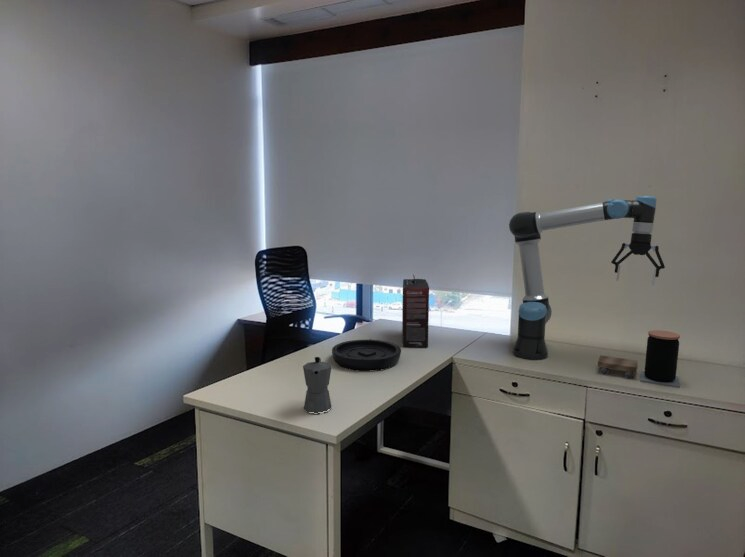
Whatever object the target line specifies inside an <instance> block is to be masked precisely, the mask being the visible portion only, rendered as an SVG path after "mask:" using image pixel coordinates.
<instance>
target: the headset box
mask: <svg viewBox="0 0 745 557" xmlns="http://www.w3.org/2000/svg"><path fill="white" fill-rule="evenodd" d="M412 276H413V278H410V279H408V278H407V279H406V278H403V282H402V309H401V310H402V314H401V315H402V320H401V321H402V322H401V323H402V329H401V330H402V332H401V333H402V346H403V348H428V347H429V322H430V321H429V320H430V319H429V318H430V317H429V314H430V313H429V312H430V308H429V307H430V286H429V283H428V281H427V279H425V278H424V279H423V278H416V277H415V275H414V274H413V275H412Z"/></svg>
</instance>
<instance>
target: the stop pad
mask: <svg viewBox="0 0 745 557" xmlns="http://www.w3.org/2000/svg"><path fill="white" fill-rule="evenodd" d="M644 371H645V370H641V371H640V376H639V377H640V379H639V380H640V382H641V381H642V383H647V382H648V384H653V383H654V384H655V385H659V384H660V386H666V387H674V388H678V389H680V379H679V376H677V375H676V378H675V379H674V381H672V382H658V381H653V380H650V379H648V378H647V377H646V375H645V373H644Z"/></svg>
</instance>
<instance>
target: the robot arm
mask: <svg viewBox="0 0 745 557" xmlns="http://www.w3.org/2000/svg"><path fill="white" fill-rule="evenodd" d="M656 209H657V198H656V196H652V195H651V196H650V195H638V196H636V198H635V200H633V199H632V200H631V199H630V200H628V199H620V198H618V199H613V198H612V199H605V201H604V202H598V203H592V204H586V205H580V206H575V207H574V206H573V207H569V208H565V209H564V208H563V209H557V210H552V211H547V212H538V211H535V212H533V211H532V212H530V211H523V212H518V213H516V214H514V215H513V216H512V217H511V218H510V220H509V224H508V227H509V232H510V233H511V235H513V236H514V242H515V244H516V245H518V248H519V255H520V263H521V271H522V278H523V279H522V280H523V287H524V294H525V295H524V297H523V298H522V303H520V305H519V307H518V322H517V323H518V324H517V338H516V340H515V343H514V345H513V347H512V354H513V355H514V356H515V357H518V358H521V359H525V360H526V359H527V360H534V361H535V360H536V361H537V360H544V359H547V358H548V355H549V351H548V348H547V345H546V344H547V343H546V338H545V337H546V335H545V334H546V324H547V323H548V322H549V321H550V320H551V317H552V313H553V312H552V307H551V305H550V302H549V296H548V295H547V294H546V293H545V289H544V280H543V274H542V271H543V270H542V266H541V258H540V257H541V256H540V248H539V242H540V241H541V239H542V235H541V233H542V232H544V231H549V230H555V229H560V228H561V229H562V228H567V227H573V226H580V225H585V224H591V223H597V222H603V221H611V220H618V219H633V222H632V229H631V231H632V233H631V237H630V242H629V243H625V242H623V243H622V244H621V247H620V249H619V250H618V252H617V253H616V255H615V256H614V257H613V258H612V260H611V261H610V262H611V264H613V265H614V266H615V267H614V273H615V274H616V280H615V281H617V282H619V280H620V273H621V265H620V264H621V263H623V261H625V260H626V259H627V258H629V257H630V256H631V255H635V256H639V255H640V256H646V257H647V258H648V260H649V261H650V263H652V265H653V266H654V267H655V268H653V274H652V275H653V276H652V281H651V285H653V286H655V283H656V282H655V280H656V278H659V274H660V270H662V269H663V270H664V269H665V268H666V266H665V264H664V261H663V258H662V256H661V254H660V251H659V250H660V249H659V248H660V247H659V246H658V245H652V244H651V242H652V237H653V235H652V234H651V233H653V229H654V221H655V215H656V211H657V210H656ZM627 248H629V250H630V251H628V253H626V254H625V255H624V256H623V257H622V258H620V259H619V257H620V256H621V254H622V253H623V251H624V250H626V249H627ZM650 250H652V251H653V252H655V254H656V258H657V259H658V262H659V265H658V263H657V262H656V261H655V259H654V258H653V257H652V256H651V254H650V253H649V251H650ZM618 259H619V260H618ZM617 260H618V261H617Z"/></svg>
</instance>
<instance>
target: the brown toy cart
mask: <svg viewBox="0 0 745 557" xmlns="http://www.w3.org/2000/svg"><path fill="white" fill-rule="evenodd" d="M597 368H599V373H600V374H601V375H603V376H606V375H607V374H608V373H609V369H610V370H611V369H612V370H616V371H617V370H618V371H624V377H625V378H626V379H628V380H631V379H633V378H634V373H637V372H638V359H637V360H635V359H628V358H621V357H615V356H607V355H602V354H601V355H599V357H598V360H597Z"/></svg>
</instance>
